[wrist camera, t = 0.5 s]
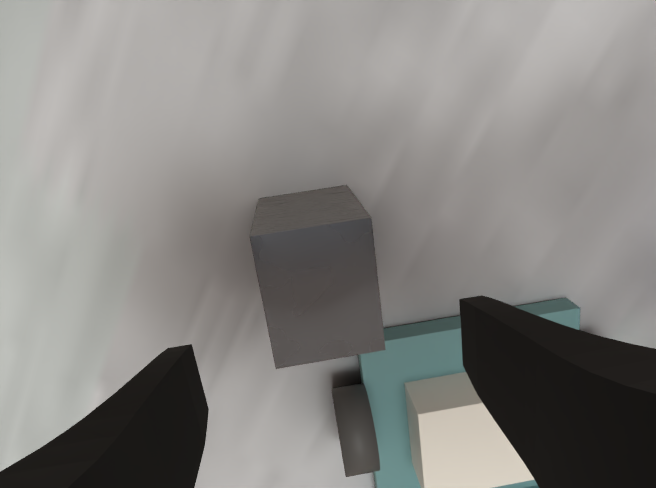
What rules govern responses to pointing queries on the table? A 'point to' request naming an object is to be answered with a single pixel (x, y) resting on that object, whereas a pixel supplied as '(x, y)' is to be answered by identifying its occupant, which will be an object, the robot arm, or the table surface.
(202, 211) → the table surface
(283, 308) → the dark grey upright block
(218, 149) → the table surface
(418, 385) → the chassis
